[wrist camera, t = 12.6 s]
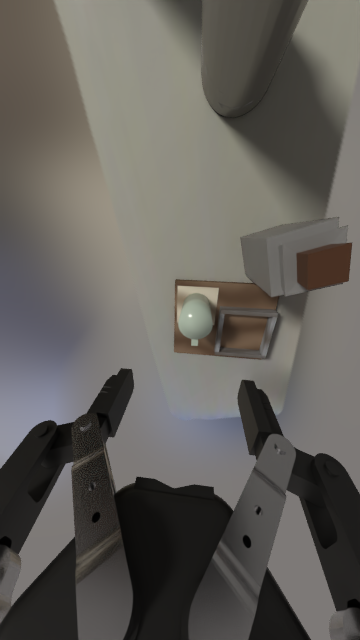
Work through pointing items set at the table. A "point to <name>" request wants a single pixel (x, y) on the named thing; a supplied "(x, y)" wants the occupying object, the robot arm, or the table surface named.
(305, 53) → the table surface
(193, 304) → the pale green rounded piece
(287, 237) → the perfume bottle
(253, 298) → the wooden panel with label
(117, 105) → the table surface
